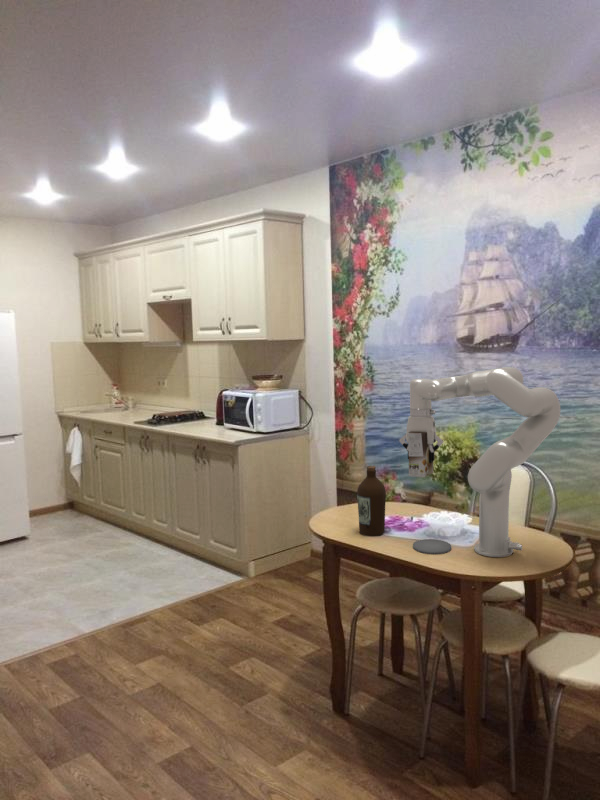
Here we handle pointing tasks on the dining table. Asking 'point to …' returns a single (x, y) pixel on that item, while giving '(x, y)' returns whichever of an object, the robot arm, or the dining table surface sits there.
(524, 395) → the robot arm
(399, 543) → the dining table surface
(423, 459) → the coffee box
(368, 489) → the olive oil
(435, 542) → the mat
